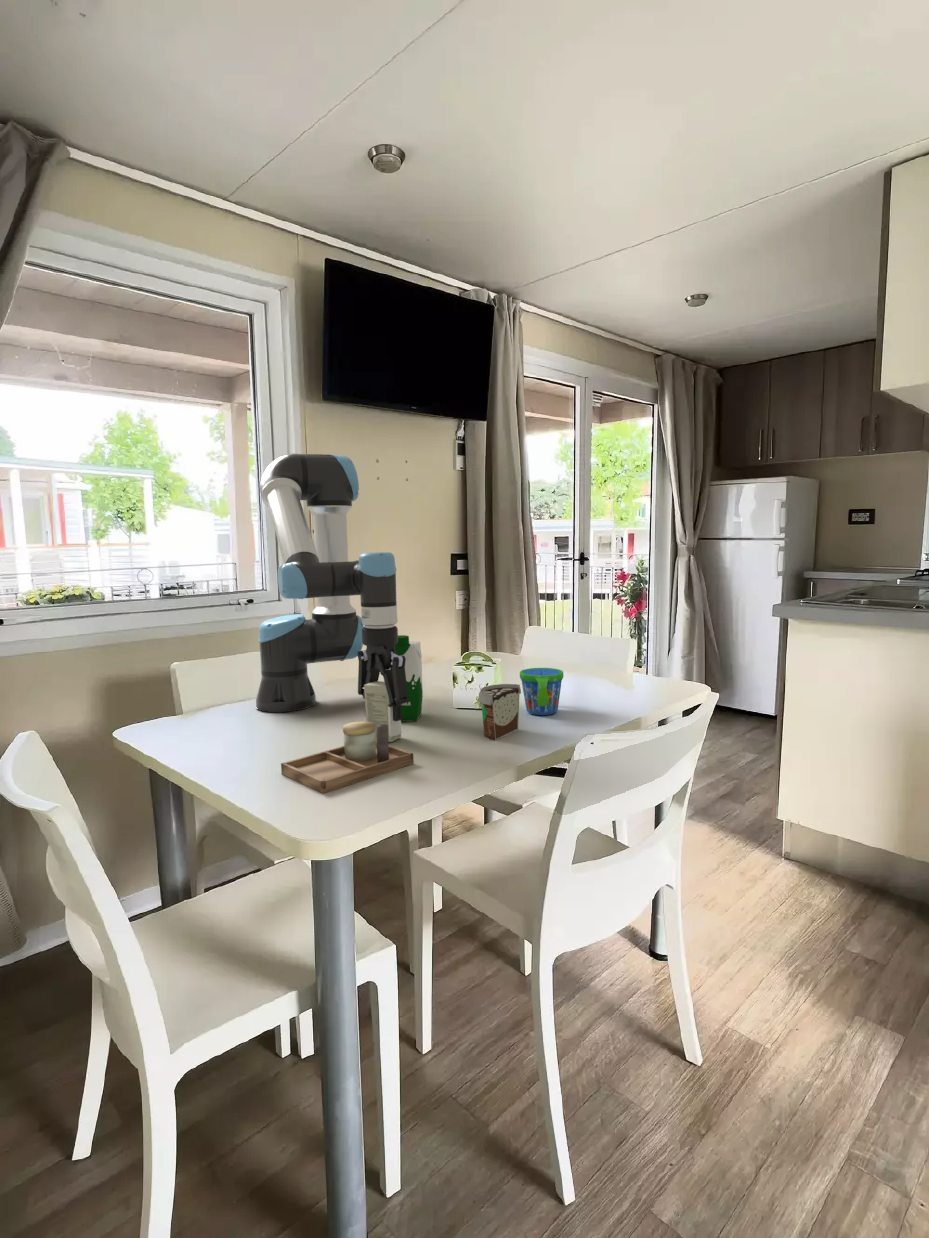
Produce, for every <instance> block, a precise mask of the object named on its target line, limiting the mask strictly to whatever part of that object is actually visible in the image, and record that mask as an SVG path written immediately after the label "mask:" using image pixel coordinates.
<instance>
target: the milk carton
mask: <svg viewBox="0 0 929 1238" xmlns="http://www.w3.org/2000/svg"><path fill="white" fill-rule="evenodd" d="M394 648H395V652H396V655H398V656H405V658H406V660H405V674H406V683H407V692H408V702H407V703H404V704H402V706H401V710H402V719H401V722H417V720H418V719H419V718H420V717H421V714H422V707H423V696H424V695H423V694H424V693H423V667H422V666H423V665H422V664H423V663H422V662H423V661H422V658H423V656H422V649H421V648H422V647H421V641H410V636H409V635H405V634H403V635H402V634H401V635H399V634H398V642H397V643H396V644H395V646H394ZM390 669H391V668H390ZM390 669H388V670H390ZM383 682H385V681H384V680H383Z"/></svg>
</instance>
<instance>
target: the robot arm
mask: <svg viewBox="0 0 929 1238" xmlns="http://www.w3.org/2000/svg"><path fill="white" fill-rule="evenodd" d="M259 490H260V497H261V500H262V502H263V504H264V505H265V506H266V507H267V508H268V509H269V514H270V517H271V520H272V524H273V528H274V532H275V535H276V539H277V543H278V546H279V550H280V553H281V557H282V560H283V561H282V562H283V563H282V564H280V565H279V566H278V569H277V585H278V590H279V594H280V596H281V597H282V598H284V599H291V600H292V599H294V600H297V599H298V600H303V599H314V598H316V599H317V600H316V602H317V605H316V607H315V608H313V610H312V612H311V619H310V618H309V619H306V617H305V615H304V614H301V613H299V614H297V613H295V614H288V615H281V616H278V617H277V616H276V617H273V618H269V619H266V620H264V621H263V622H262V623H261V624H260V625H259V627H258V643H259V651H260V652H259V653H260V656H259V657H260V673H261V675H260V676H261V680H260V683H259V687H258V691H257V693H256V699H255V708H256V707H257V708H258V709H259V710H258V709H257V708H256V709H257V710H258V711H261V710H263V711H262V712H266V711H267V713H285V712H294V711H295V712H296V711H301V710H304V709H305V710H306V709H308V708H311V707H314V705H316V704H317V697H316V693H315V691H314V687H313V685H312V682H311V680H310V677H309V674H308V664H316V663H317V664H319V663H325V662H326V663H327V662H337V661H340V662H344V661H345V660H353V659H355V658H357V659H358V670H357V671H358V673H357V674H358V675H357V676H358V677H357V695H359V696H362V698H363V699H364V700H365V693H364V685H365V684H368V683H371V682H376V681H379V679H380V675H381V676H383V677H382V678H383V682H384V681H385V685H386V689H387V693H388V696H389V700H390V704H389V705H388V723H389V736H390V737H393V736H396V735H400V734H401V735H402V721H401V719H402V710H401V706H402V704H404V703H407V702H408V692H407V683H406V674H405V660H406V658H405V656H398V655H396V652H395V648H394V646H395V644H396V643H397V642H398V636H399V634H398V633H399V631H398V627H397V623H398V619H399V618H398V605H397V603H398V602H397V567H396V561H395V560H396V559H395V555H394V554H393V553H392V552H390V551H389V552H384V551H383V552H381V551H380V552H378V551H377V552H361V553H360V554H359V556H358V560H353V561H349V546H348V521H347V514H348V512H349V511H350V510H351V509H352V508H353V502H355V501H356V500H358V497H359V490H360V485H359V477H358V473H357V470H356V466H355V464H354V462H353V461H352V460H351V458H349V457H348V456H345V455H340V454H339V455H338V454H322V453H321V454H319V453H318V454H316V453H315V454H314V453H313V454H312V453H311V454H309V453H288V454H284V455H281V456H279V457H277V458H276V459H274V460H273V461H272V462H271V463H269V465H267V467H266V469H265V470H264V472H263V474H262V477H261V480H260V483H259ZM302 501H306V509H307V510H308V511H309V512H310V513H311V514H312V516H313V518H312V519H313V535H314V536H313V537H314V540H313V537H312V534H311V533H312V532H311V531H310V527H309V524H308V521H307V518H306V515H305V512H304V508H303V504H302ZM350 596H351V597H352V596H360V609H361V611H360V612H361V616H360V615H357V609H356V608H354V607H353V606H352V604H351V597H350ZM363 646H365V647H366V649H364V650H363ZM390 668H391V669H390ZM388 669H390V670H388ZM395 699H396V700H395ZM364 710H365V712H366V707H365V706H364Z"/></svg>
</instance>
